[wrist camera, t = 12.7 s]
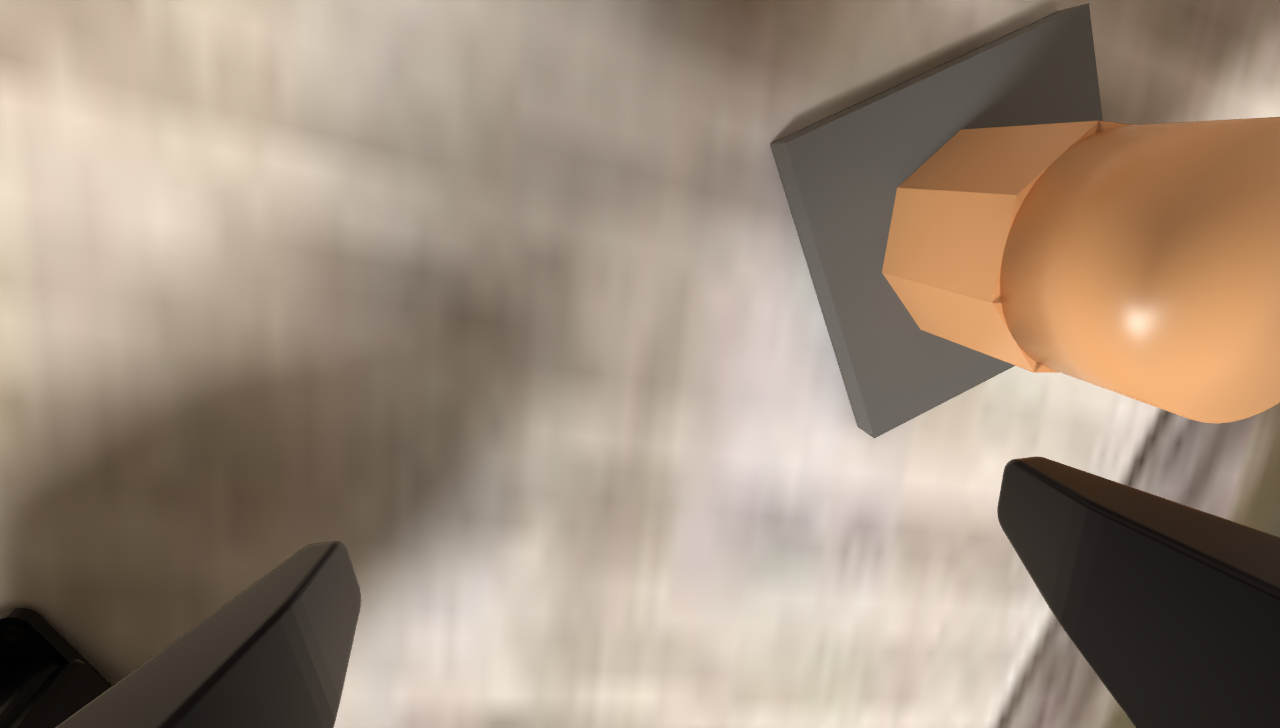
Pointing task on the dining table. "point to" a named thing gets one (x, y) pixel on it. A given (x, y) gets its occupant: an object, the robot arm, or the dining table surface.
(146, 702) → the robot arm
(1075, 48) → the mat
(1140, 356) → the orange rounded bulb shape
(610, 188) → the dining table surface
